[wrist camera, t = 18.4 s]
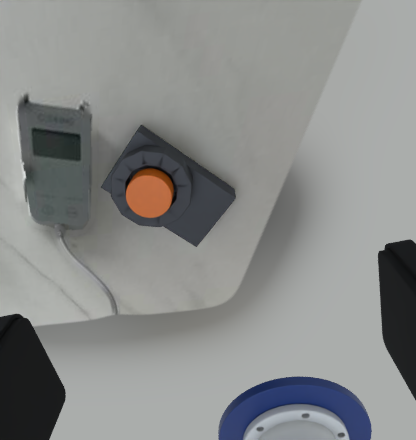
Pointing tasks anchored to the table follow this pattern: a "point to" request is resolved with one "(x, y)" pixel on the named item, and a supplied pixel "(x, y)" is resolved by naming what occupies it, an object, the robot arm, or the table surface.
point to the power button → (150, 193)
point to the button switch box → (182, 183)
